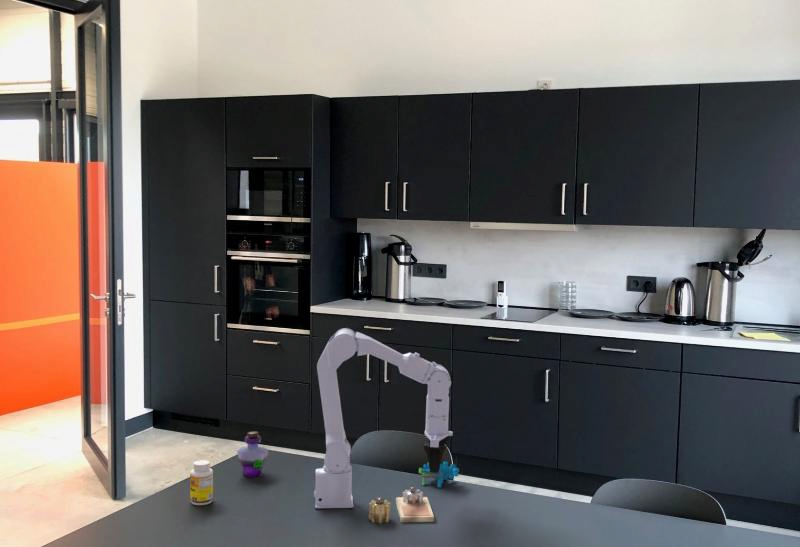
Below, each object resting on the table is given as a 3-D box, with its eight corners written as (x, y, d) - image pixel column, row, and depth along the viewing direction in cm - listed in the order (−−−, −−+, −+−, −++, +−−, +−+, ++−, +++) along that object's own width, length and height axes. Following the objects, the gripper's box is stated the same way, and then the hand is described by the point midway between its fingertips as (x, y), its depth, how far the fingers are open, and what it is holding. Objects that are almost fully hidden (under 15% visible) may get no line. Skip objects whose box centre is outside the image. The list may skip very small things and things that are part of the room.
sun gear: (403, 504, 197) (404, 491, 196) (401, 497, 202) (402, 484, 201) (423, 504, 197) (424, 491, 197) (421, 497, 202) (421, 484, 202)
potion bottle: (253, 482, 213) (253, 438, 212) (230, 475, 218) (230, 433, 217) (274, 473, 221) (275, 431, 220) (252, 467, 225) (252, 426, 224)
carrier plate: (400, 522, 189) (401, 516, 188) (395, 501, 201) (395, 497, 201) (434, 521, 189) (434, 516, 189) (426, 501, 202) (426, 496, 202)
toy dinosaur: (462, 475, 218) (454, 457, 211) (461, 495, 214) (453, 478, 207) (424, 475, 221) (415, 458, 214) (422, 495, 217) (412, 478, 210)
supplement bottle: (188, 499, 200) (188, 460, 199) (210, 496, 202) (211, 457, 201) (191, 507, 195) (191, 467, 194) (214, 504, 197) (214, 464, 196)
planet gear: (369, 523, 187) (370, 502, 187) (368, 515, 192) (368, 494, 192) (390, 523, 188) (391, 502, 187) (388, 515, 193) (389, 494, 192)
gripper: (451, 422, 191) (449, 477, 192) (454, 408, 205) (452, 458, 206) (422, 421, 192) (420, 475, 193) (427, 406, 206) (426, 457, 207)
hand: (435, 466), depth 200 cm, fingers open, 7 cm apart
